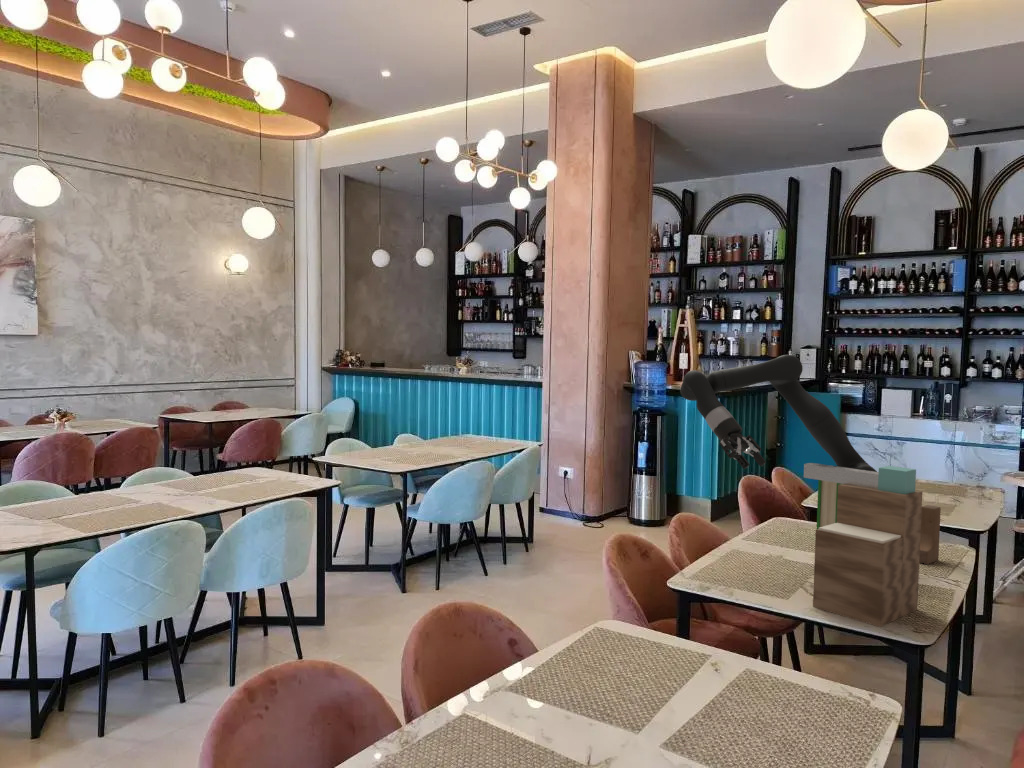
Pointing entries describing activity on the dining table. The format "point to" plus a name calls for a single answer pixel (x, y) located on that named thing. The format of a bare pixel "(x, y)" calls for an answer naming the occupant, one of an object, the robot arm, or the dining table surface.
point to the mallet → (865, 477)
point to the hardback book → (827, 503)
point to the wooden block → (929, 534)
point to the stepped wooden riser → (869, 556)
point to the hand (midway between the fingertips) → (755, 465)
